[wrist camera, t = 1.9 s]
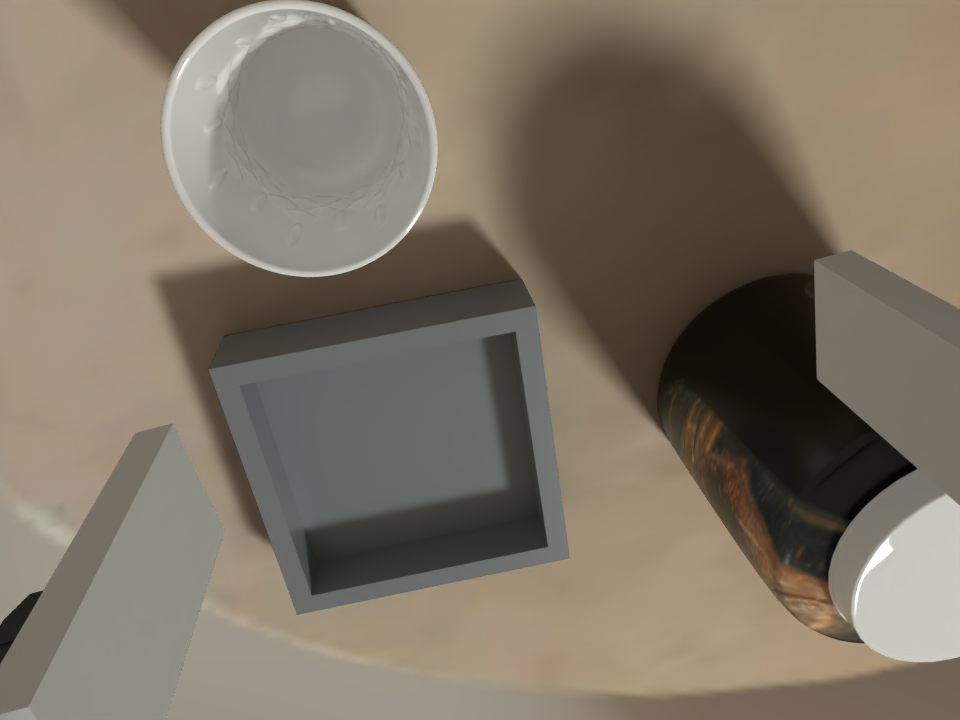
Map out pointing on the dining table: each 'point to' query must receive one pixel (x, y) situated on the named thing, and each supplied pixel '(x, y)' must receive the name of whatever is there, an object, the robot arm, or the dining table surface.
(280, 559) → the tray
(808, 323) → the jar
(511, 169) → the dining table surface
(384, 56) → the white cup
